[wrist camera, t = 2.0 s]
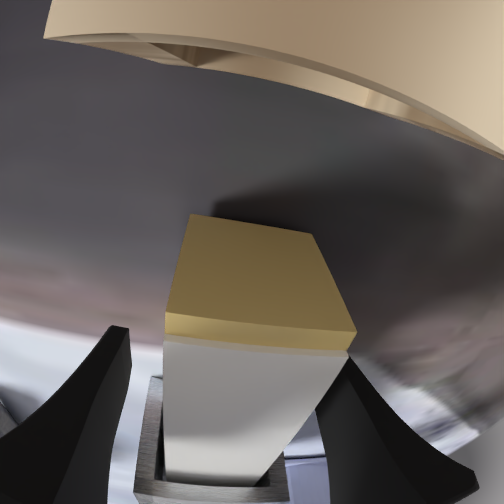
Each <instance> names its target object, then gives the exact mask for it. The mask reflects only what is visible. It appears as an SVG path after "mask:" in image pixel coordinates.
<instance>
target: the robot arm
mask: <svg viewBox="0 0 504 504" xmlns="http://www.w3.org/2000/svg"><path fill="white" fill-rule="evenodd" d="M348 356H349V355H348ZM131 368H132V360H131V350H130V338H129V328H124V327H119V326H114V325H112V326H110V327H109V328H108V329H107V331H106V332H105V334H104V335H103V336H102V338H101V339H100V341H99V342H98V343H97V344H96V346H95V347H94V348H93V350H92V351H91V352H90V353H89V355H88V356H87V357H86V358H85V360H84V361H83V362H82V363H81V364H80V366H79V367H78V368H77V369H76V370H75V372H74V373H73V374H72V375H71V376H70V377H69V378H68V379H67V380H66V382H65V383H64V384H63V385H62V386H61V387H60V388H59V389H58V390H57V391H56V392H55V393H54V394H53V395H52V396H51V397H50V398H49V399H48V400H47V401H46V402H45V403H44V404H43V405H42V406H41V407H40V408H38V409H37V410H36V411H35V412H34V413H33V414H31V415H30V416H29V417H28V418H27V419H26V420H24V421H23V422H22V423H20V424H19V425H18V426H16V427H15V428H14V429H12V430H11V431H9V432H8V433H7V434H5V435H4V436H2V437H1V438H0V504H107V497H108V482H109V471H110V462H111V454H112V448H113V443H114V438H115V435H116V431H117V427H118V423H119V420H120V416H121V412H122V409H123V405H124V402H125V398H126V394H127V391H128V386H129V380H130V374H131ZM315 411H316V416H317V420H318V424H319V428H320V433H321V437H322V441H323V445H324V450H325V454H326V457H323V458H310V459H294V460H285V467H286V474H287V481H288V488H289V496H290V502H288V503H287V504H454V503H456V502H458V501H460V500H462V499H463V498H465V497H467V496H469V495H470V494H472V493H474V492H476V491H477V490H478V489H479V484H478V481H477V479H476V476H475V473H474V471H473V470H471V469H469V468H467V467H465V466H463V465H461V464H459V463H457V462H455V461H454V460H452V459H450V458H449V457H447V456H446V455H444V454H443V453H441V452H440V451H438V450H437V449H435V448H434V447H433V446H431V445H430V444H429V443H428V442H426V441H425V440H424V439H423V438H421V437H420V436H419V435H418V434H417V433H416V432H414V431H413V430H412V429H411V428H410V427H409V426H408V425H407V424H406V423H405V422H404V421H403V420H402V419H401V418H400V417H399V416H398V415H397V414H396V413H395V412H394V411H393V409H392V408H391V407H390V406H389V405H388V404H387V403H386V402H385V400H384V399H383V398H382V397H381V396H380V394H379V393H378V392H377V391H376V390H375V388H374V387H373V386H372V385H371V383H370V382H369V381H368V379H367V378H366V377H365V376H364V374H363V373H362V372H361V370H360V369H359V368H358V366H357V365H356V364H355V363H354V361H353V360H352V359H351V357H350V356H349V358H348V359H347V361H346V363H345V364H344V366H343V367H342V369H341V370H340V372H339V374H338V375H337V377H336V378H335V380H334V381H333V383H332V384H331V386H330V387H329V389H328V390H327V392H326V393H325V395H324V396H323V398H322V399H321V400H320V402H319V403H318V405H317V406H316V408H315Z"/></svg>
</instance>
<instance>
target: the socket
mask: <svg viewBox="0 0 504 504" xmlns="http://www.w3.org/2000/svg"><path fill="white" fill-rule="evenodd" d="M44 39H52V40H59V41H66V42H72V43H78V44H83V45H89V46H94V47H99V48H103V49H108V50H113V51H117V52H121V53H125V54H129V55H133V56H137V57H141V58H145V59H148V60H152V61H155V62H159V63H162V64H169V65H180V66H189V67H197V68H205V69H212V70H218V71H225V72H230V73H236V74H242V75H247V76H252V77H257V78H262V79H266V80H271V81H275V82H279V83H284V84H288V85H292V86H296V87H299V88H303V89H307V90H310V91H314V92H318V93H321V94H324V95H328V96H331V97H334V98H337V99H340V100H344V101H347V102H350V103H353V104H355V105H358V106H361V107H364V108H367V109H370V110H372V111H375V112H378V113H380V114H383V115H385V116H388V117H391V118H395V119H398V120H401V121H405V122H408V123H411V124H414V125H417V126H420V127H423V128H426V129H429V130H432V131H434V132H437V133H440V134H443V135H445V136H448V137H450V138H453V139H456V140H458V141H461V142H463V143H465V144H468V145H470V146H473V147H475V148H477V149H480V150H482V151H484V152H486V153H489V154H491V155H493V156H495V157H497V158H499V159H501V160H503V161H504V0H52V4H51V8H50V12H49V16H48V20H47V24H46V29H45V33H44Z"/></svg>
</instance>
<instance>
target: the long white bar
mask: <svg viewBox="0 0 504 504" xmlns="http://www.w3.org/2000/svg"><path fill="white" fill-rule="evenodd" d="M356 333H357V330H356V328H355V326H354V324H353V321H352V319H351V317H350V314H349V312H348V310H347V308H346V306H345V303H344V301H343V299H342V297H341V294H340V292H339V290H338V288H337V286H336V284H335V281H334V279H333V277H332V275H331V273H330V271H329V269H328V267H327V265H326V262H325V260H324V258H323V256H322V254H321V252H320V250H319V248H318V246H317V244H316V242H315V240H314V238H313V236H312V234H310V233H304V232H299V231H293V230H287V229H282V228H276V227H270V226H264V225H258V224H252V223H246V222H240V221H234V220H228V219H222V218H215V217H209V216H203V215H196V214H190V218H189V221H188V225H187V228H186V232H185V236H184V239H183V243H182V247H181V251H180V255H179V259H178V262H177V266H176V270H175V274H174V279H173V283H172V287H171V291H170V295H169V300H168V304H167V308H166V315H165V335H164V340H163V426H164V450H165V467H166V480H167V482H172V483H180V484H190V485H201V486H216V487H253V486H254V485H255V483H256V482H257V481H258V480H259V479H260V478H261V477H262V475H263V474H264V473H265V472H266V471H267V470H268V468H269V467H270V466H271V465H272V464H273V462H274V461H275V460H276V459H277V458H278V456H279V455H280V454H281V453H282V451H283V450H284V449H285V448H286V446H287V445H288V444H289V443H290V441H291V440H292V439H293V437H294V436H295V435H296V434H297V432H298V431H299V430H300V428H301V427H302V426H303V424H304V423H305V421H306V420H307V419H308V417H309V416H310V415H311V413H312V412H313V410H314V409H315V408H316V406H317V405H318V403H319V402H320V400H321V399H322V398H323V396H324V395H325V393H326V392H327V390H328V389H329V387H330V386H331V384H332V383H333V381H334V380H335V378H336V377H337V375H338V374H339V372H340V370H341V369H342V367H343V366H344V364H345V363H346V361H347V359H348V358H349V356H348V353H347V349H348V347H349V346H350V344H351V342H352V340H353V339H354V337H355V335H356Z"/></svg>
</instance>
